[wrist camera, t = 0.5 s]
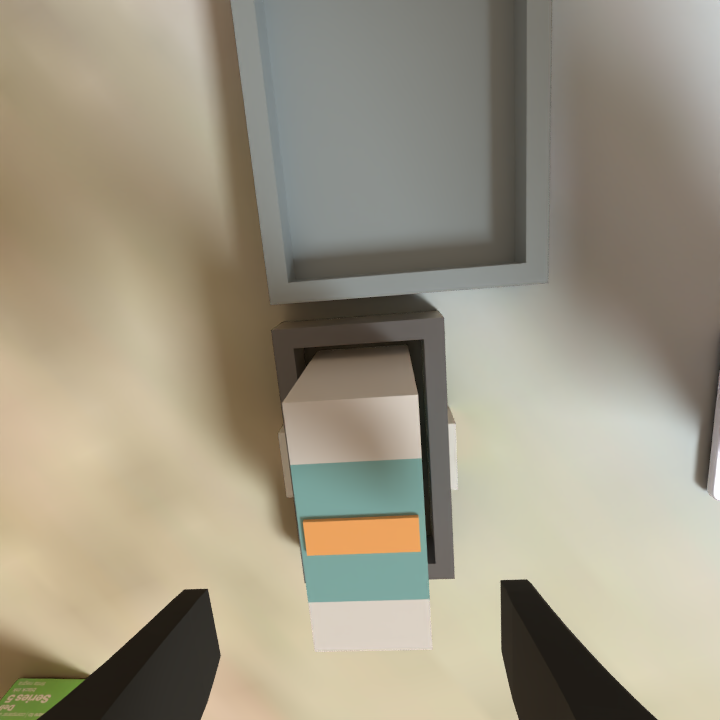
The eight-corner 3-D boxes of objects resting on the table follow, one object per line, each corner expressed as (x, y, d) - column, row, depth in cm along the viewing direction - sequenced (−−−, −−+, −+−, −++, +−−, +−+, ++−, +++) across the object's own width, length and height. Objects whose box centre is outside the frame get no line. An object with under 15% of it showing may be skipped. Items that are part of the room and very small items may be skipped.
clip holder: (445, 310, 19) (451, 316, 17) (454, 549, 22) (461, 578, 20) (275, 322, 20) (263, 330, 18) (305, 554, 23) (298, 583, 21)
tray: (533, -118, 16) (554, -170, 14) (531, 279, 19) (548, 283, 17) (235, -75, 16) (215, -118, 14) (282, 299, 20) (270, 305, 18)
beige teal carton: (407, 344, 20) (418, 396, 13) (418, 525, 22) (433, 653, 15) (317, 350, 20) (280, 404, 13) (336, 528, 22) (314, 655, 15)
